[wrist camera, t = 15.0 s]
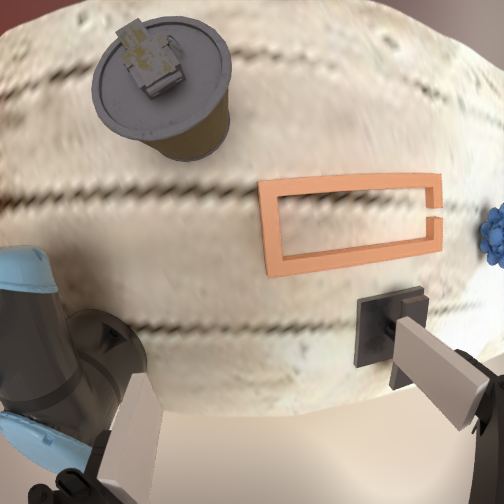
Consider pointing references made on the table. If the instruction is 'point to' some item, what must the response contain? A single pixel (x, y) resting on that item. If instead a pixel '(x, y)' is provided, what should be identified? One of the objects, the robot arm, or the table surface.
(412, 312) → the stand
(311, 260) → the link
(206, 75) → the canister
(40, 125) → the table surface
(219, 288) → the table surface
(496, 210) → the grapes
